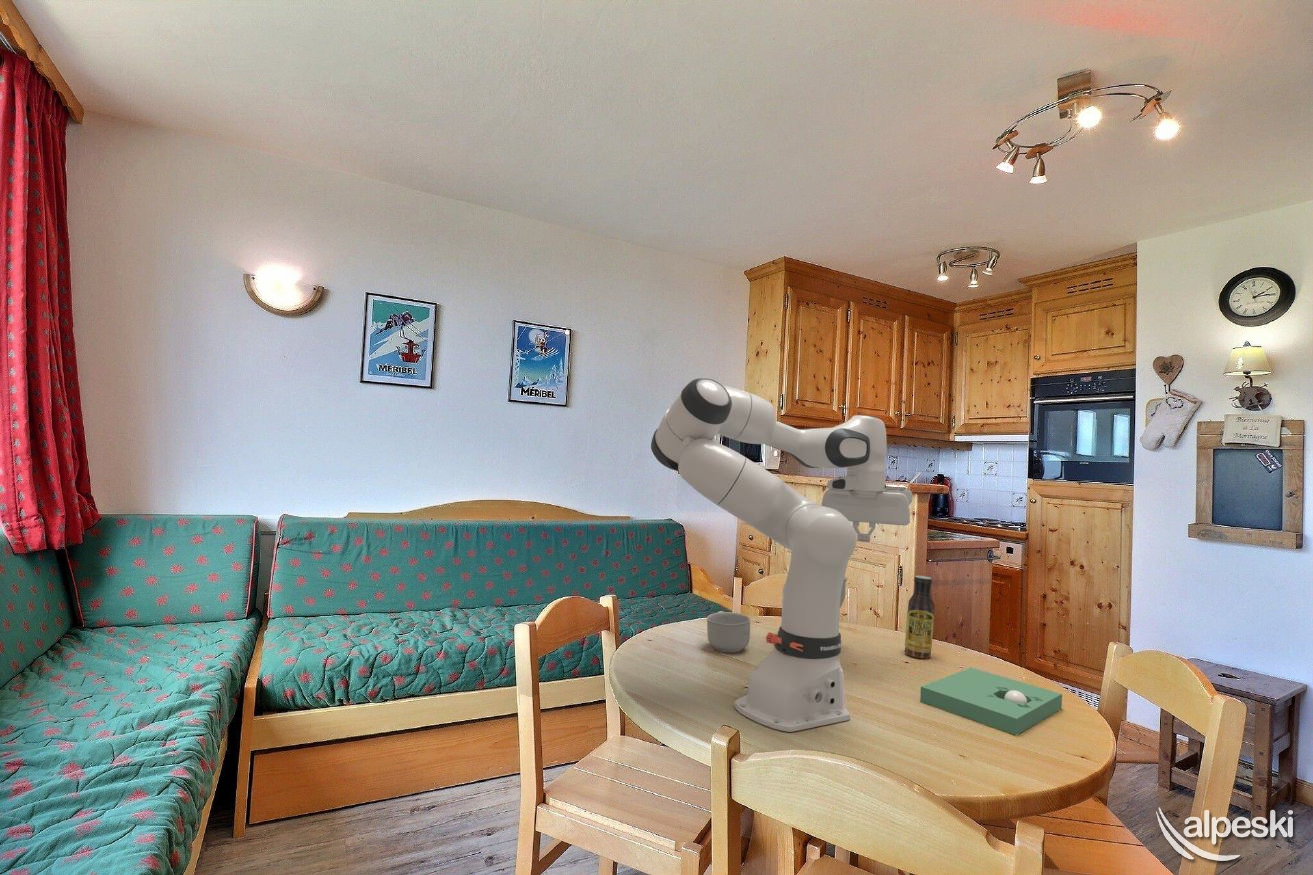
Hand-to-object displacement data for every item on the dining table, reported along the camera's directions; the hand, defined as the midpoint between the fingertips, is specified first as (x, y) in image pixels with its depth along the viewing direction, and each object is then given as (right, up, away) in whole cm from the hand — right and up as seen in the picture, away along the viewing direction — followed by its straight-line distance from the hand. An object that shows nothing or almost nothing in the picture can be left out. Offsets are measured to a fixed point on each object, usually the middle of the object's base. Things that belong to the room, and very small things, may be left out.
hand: (863, 541), depth 147 cm
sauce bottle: (+17, -30, +8) cm, 36 cm away
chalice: (-4, -30, +12) cm, 32 cm away
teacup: (-32, -28, +8) cm, 43 cm away
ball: (+21, -27, -26) cm, 43 cm away
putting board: (+18, -29, -22) cm, 41 cm away
